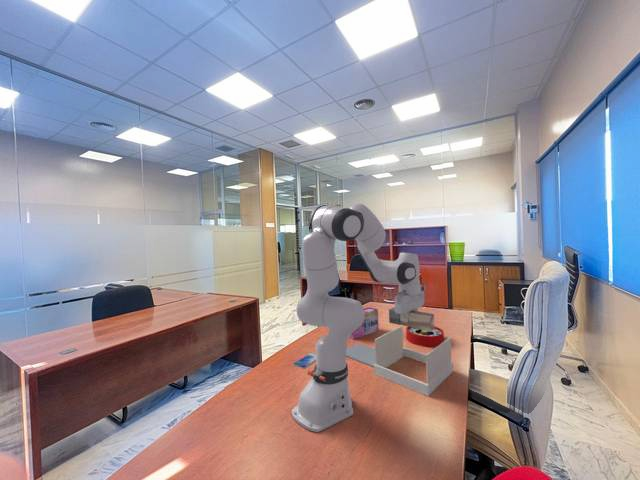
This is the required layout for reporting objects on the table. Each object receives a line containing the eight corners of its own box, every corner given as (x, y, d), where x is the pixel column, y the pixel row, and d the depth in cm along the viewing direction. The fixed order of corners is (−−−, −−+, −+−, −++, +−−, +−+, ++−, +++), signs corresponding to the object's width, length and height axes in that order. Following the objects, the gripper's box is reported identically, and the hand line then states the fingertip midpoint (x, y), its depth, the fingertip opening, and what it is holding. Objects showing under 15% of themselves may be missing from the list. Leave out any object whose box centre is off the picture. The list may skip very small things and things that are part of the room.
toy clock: (411, 336, 142) (402, 324, 162) (411, 347, 142) (402, 333, 162) (449, 336, 141) (435, 324, 161) (450, 347, 141) (436, 333, 161)
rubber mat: (377, 369, 120) (377, 367, 120) (338, 353, 137) (338, 352, 137) (396, 357, 131) (396, 356, 131) (357, 344, 148) (357, 343, 148)
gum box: (352, 340, 154) (351, 317, 154) (342, 336, 161) (342, 314, 160) (379, 330, 169) (378, 309, 169) (369, 327, 175) (369, 307, 175)
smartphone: (322, 355, 135) (304, 368, 122) (322, 357, 135) (304, 370, 122) (311, 352, 139) (292, 363, 127) (311, 353, 139) (292, 365, 127)
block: (428, 332, 107) (427, 317, 107) (389, 322, 120) (388, 309, 120) (435, 327, 112) (434, 313, 112) (396, 319, 125) (396, 306, 125)
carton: (427, 396, 99) (426, 356, 99) (374, 373, 116) (373, 339, 116) (453, 371, 116) (452, 337, 116) (402, 354, 133) (402, 325, 133)
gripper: (404, 293, 107) (404, 327, 107) (426, 286, 121) (427, 316, 121) (390, 291, 111) (391, 324, 112) (413, 284, 126) (414, 313, 126)
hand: (410, 320), depth 116 cm, fingers closed on block, 5 cm apart
